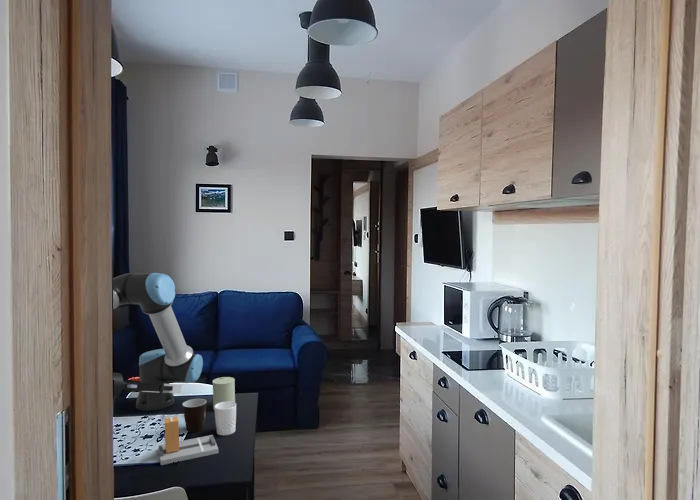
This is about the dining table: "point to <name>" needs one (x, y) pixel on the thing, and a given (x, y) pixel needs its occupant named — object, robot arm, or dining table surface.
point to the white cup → (225, 417)
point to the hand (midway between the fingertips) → (170, 388)
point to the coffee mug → (194, 414)
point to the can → (223, 390)
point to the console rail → (189, 450)
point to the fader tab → (171, 434)
